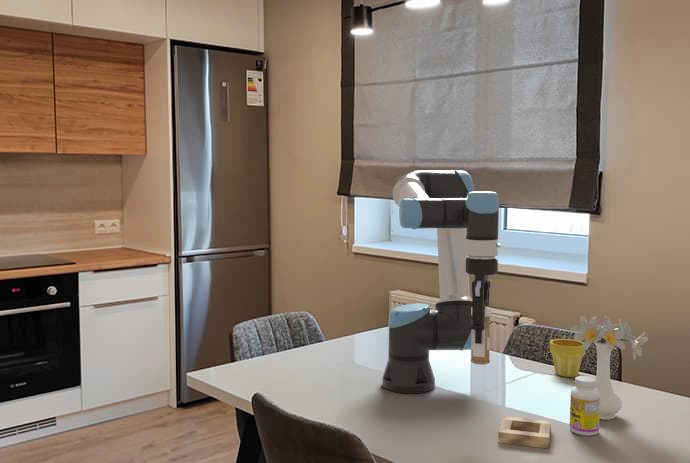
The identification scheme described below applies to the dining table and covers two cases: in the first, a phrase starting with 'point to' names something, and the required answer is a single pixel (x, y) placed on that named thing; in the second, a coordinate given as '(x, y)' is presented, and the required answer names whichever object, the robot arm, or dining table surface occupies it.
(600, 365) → the flower vase
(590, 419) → the supplement bottle
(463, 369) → the dining table surface
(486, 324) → the sprinkles bottle
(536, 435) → the socket block
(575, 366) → the plant pot
